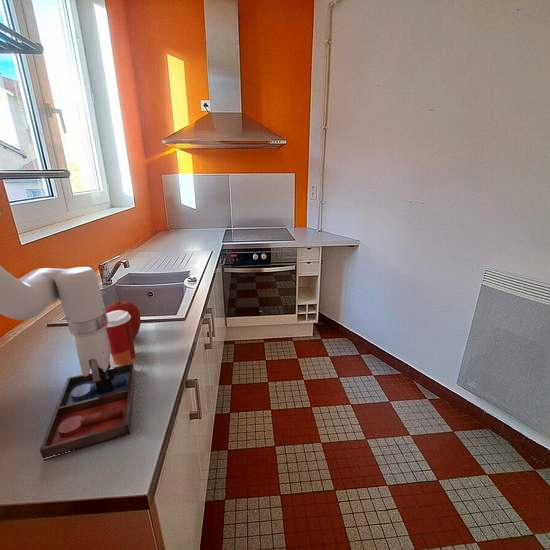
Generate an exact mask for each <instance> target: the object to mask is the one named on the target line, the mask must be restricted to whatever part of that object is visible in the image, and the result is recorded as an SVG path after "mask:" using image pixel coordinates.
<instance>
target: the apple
mask: <svg viewBox="0 0 550 550" xmlns="http://www.w3.org/2000/svg"><path fill="white" fill-rule="evenodd" d="M105 310H106V313H109V312H112V311H116V310H122V311H126V312H128V313H129V314H130V315H131V319H130V322H131V328H132V335H133V339H134V338H135V337H136V336H138V334H139V333H140V329H141V324H142V320H141V311H140V310H139V308H138V306H137V305H136V304H135V303H133V302H132V301H129V300H120V299H119V298H118V299H117V301H115V302H112V303H110V304H108V307H107V308H105Z"/></svg>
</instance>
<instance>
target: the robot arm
mask: <svg viewBox="0 0 550 550" xmlns="http://www.w3.org/2000/svg"><path fill="white" fill-rule="evenodd" d="M58 301H60V303H61V306H62V309H63V313H64V316H65V319H66V322H67V326H68V329H69V333H70V335H72V336H74V341H75V342H74V343H75V348H76V354H77V358H78V362H79V363H78V364H79V366H80V371H81V375H83V376H85V377H86V376H88V375H89V373H91V372H92V375H93V382H95V383H96V387H97V390H98V394H103V393H107V392H111V391H113V385H112V381H111V379H114V376H113V373H112V369H111V368H112V366H111V361H110V360H111V356H112V355H111V346H110V341H109V337H108V334H107V331H106V327H107V326H108V325H109V322H108V318H107V314H106V306H105V302H104V299H103V294H102V290H101V286H100V283H99V278H98V275H97V272H96V271H95V270H94V268H93V267H89V266H77V267H71V268H52V267H41V268H35V269H34V270H31V271H29V272H28V273H26V274H25V275H23V276H21V277H19V278H16V277H15V276H14V275H13V274H11V273H10V272H8V271H7V270H6V269H5V268H4V267H2V265H0V315H1V316H3V317H6V318H7V319H12V320H14V321H15V320H16V321H28V320H32V319H34V318H37V317H39V316H40V315H41V314H43V312H45V311H46V310H47V309H48V308H50V306H52V305H53V304H54V303H57V302H58ZM109 369H110V370H109ZM90 371H91V372H90Z"/></svg>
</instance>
